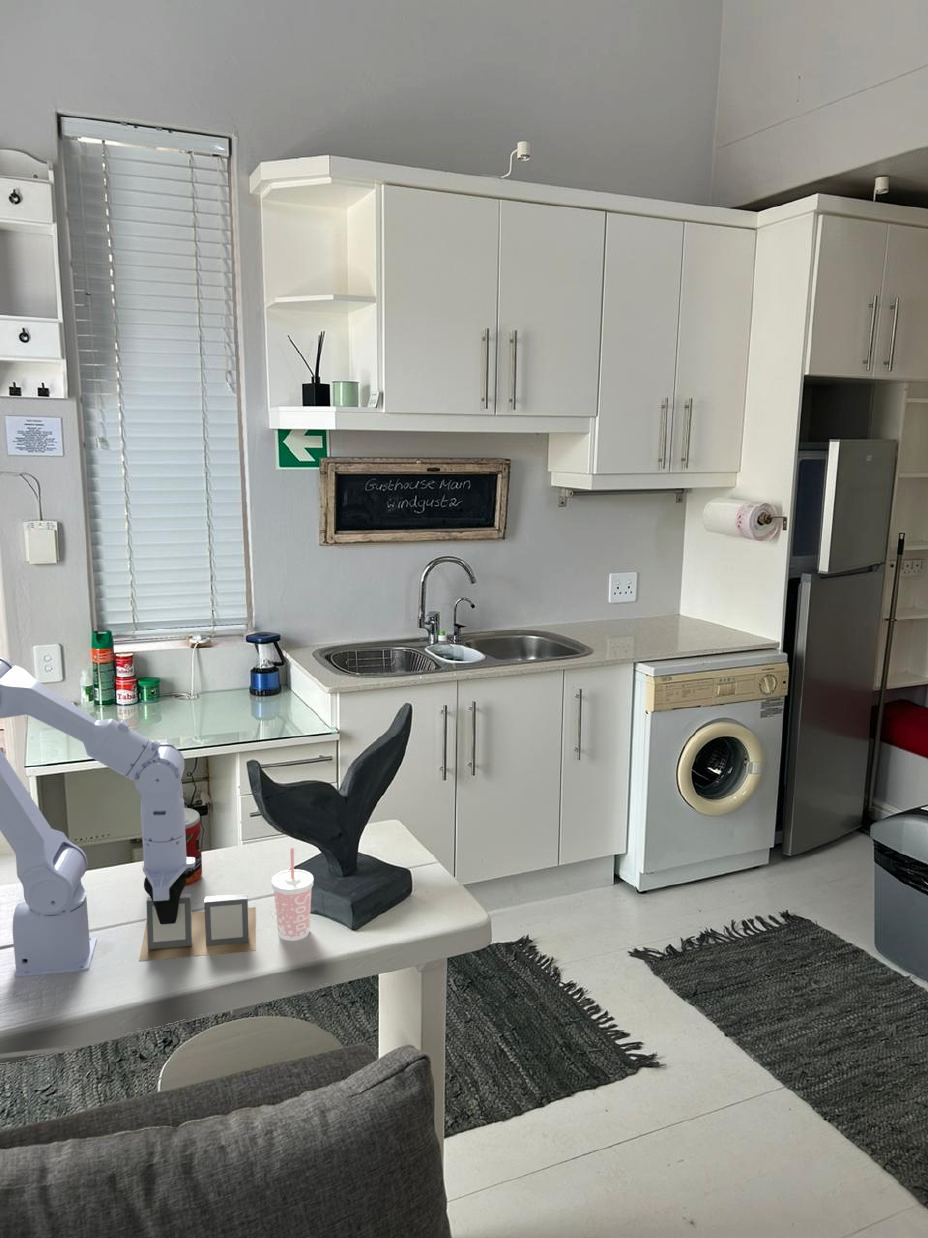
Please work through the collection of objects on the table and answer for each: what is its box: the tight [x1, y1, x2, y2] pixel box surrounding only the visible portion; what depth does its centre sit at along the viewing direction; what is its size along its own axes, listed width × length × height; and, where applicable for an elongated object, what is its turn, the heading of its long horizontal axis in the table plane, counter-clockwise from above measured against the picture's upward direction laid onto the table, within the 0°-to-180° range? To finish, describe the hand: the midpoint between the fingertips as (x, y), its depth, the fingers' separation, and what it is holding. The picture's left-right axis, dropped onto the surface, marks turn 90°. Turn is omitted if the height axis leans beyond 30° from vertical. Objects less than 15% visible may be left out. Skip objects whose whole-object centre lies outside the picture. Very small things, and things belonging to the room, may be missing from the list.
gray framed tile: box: [203, 892, 249, 946], centre depth 140 cm, size 6×2×7 cm, turn 102°
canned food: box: [184, 807, 203, 887], centre depth 158 cm, size 8×8×11 cm
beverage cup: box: [271, 846, 315, 942], centre depth 142 cm, size 6×6×14 cm
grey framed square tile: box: [146, 893, 193, 950], centre depth 139 cm, size 6×2×7 cm, turn 102°
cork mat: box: [138, 907, 257, 962], centre depth 143 cm, size 16×12×1 cm
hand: (168, 921), depth 137 cm, fingers closed
